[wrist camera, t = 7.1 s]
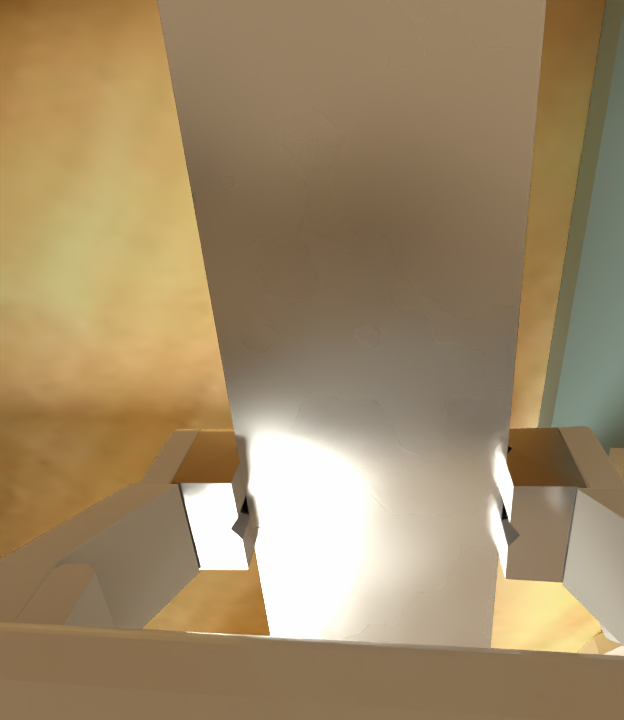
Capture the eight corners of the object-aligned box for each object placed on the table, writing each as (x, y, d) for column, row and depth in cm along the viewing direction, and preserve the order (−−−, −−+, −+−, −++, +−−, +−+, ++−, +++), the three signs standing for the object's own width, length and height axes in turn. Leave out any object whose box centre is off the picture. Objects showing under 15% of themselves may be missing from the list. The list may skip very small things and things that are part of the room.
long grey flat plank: (456, 711, 16) (472, 860, 13) (323, 700, 17) (307, 840, 14) (511, -416, 6) (622, -888, 3) (191, -341, 7) (35, -682, 4)
